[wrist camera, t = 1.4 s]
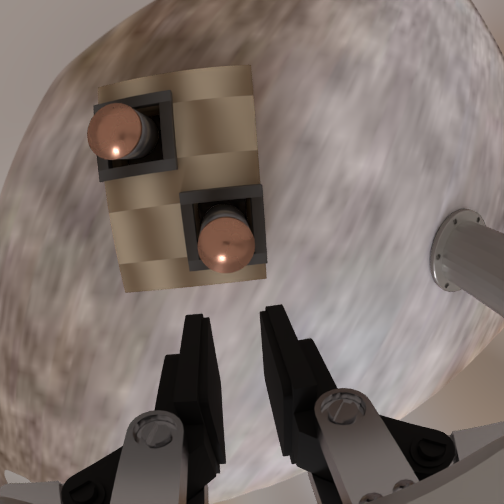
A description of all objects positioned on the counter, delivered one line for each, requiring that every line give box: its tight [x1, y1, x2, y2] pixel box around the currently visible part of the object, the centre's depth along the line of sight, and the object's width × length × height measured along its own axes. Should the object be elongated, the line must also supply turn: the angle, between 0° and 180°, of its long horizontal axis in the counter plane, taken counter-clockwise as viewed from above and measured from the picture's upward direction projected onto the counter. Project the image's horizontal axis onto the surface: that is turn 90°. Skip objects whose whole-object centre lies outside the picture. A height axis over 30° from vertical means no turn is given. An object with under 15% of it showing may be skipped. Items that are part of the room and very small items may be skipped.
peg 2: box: [198, 204, 255, 273], centre depth 24 cm, size 4×4×7 cm
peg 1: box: [87, 103, 159, 160], centre depth 21 cm, size 4×4×7 cm
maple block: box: [94, 65, 267, 293], centre depth 27 cm, size 14×20×6 cm
